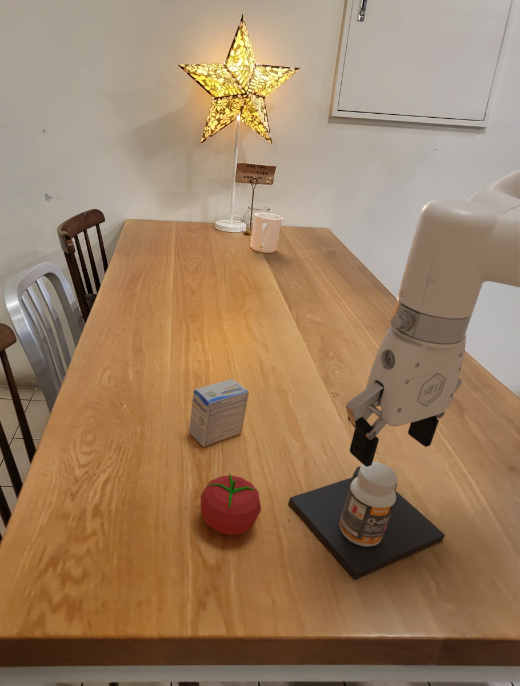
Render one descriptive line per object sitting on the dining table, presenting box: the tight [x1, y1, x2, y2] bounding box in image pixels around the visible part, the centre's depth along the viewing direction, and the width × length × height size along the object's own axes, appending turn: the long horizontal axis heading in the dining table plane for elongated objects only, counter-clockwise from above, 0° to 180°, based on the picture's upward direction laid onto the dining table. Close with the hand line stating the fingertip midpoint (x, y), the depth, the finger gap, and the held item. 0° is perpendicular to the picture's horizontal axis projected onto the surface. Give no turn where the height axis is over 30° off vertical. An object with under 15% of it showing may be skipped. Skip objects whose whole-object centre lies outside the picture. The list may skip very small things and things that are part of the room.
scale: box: [288, 465, 446, 581], centre depth 74 cm, size 16×14×3 cm
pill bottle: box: [340, 461, 399, 547], centre depth 69 cm, size 6×6×10 cm
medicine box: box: [188, 378, 250, 448], centre depth 87 cm, size 8×4×9 cm, turn 126°
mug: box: [249, 211, 283, 254], centre depth 184 cm, size 10×12×12 cm
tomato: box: [200, 473, 262, 536], centre depth 70 cm, size 8×8×8 cm
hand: (390, 449), depth 65 cm, fingers open, 9 cm apart
